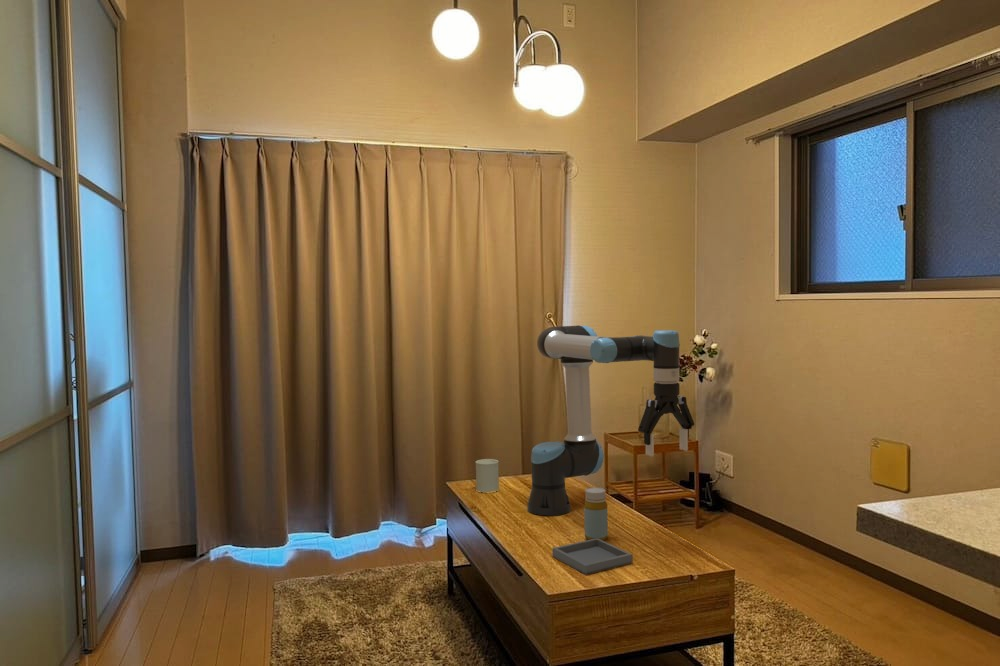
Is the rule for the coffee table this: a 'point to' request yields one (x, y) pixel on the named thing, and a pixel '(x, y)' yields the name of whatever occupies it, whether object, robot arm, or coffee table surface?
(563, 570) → the coffee table surface
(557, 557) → the tray
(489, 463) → the can
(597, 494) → the bottle
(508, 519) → the coffee table surface
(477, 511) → the coffee table surface
